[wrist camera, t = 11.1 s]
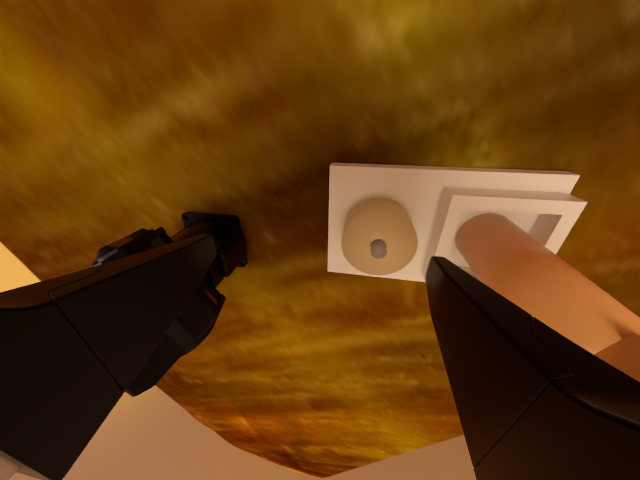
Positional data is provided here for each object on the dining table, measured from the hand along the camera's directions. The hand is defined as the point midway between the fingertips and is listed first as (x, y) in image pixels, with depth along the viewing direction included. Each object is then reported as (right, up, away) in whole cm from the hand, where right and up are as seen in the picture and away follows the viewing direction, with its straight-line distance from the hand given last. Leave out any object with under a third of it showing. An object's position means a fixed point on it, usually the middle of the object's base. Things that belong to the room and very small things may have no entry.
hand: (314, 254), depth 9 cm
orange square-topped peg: (+14, +1, +10) cm, 18 cm away
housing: (+10, +2, +12) cm, 16 cm away
